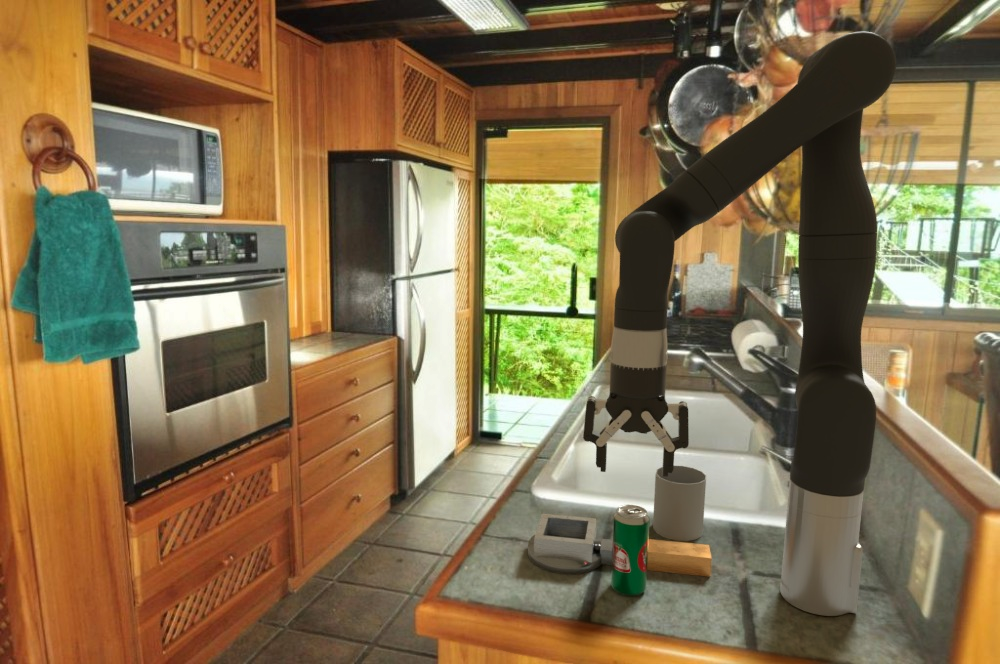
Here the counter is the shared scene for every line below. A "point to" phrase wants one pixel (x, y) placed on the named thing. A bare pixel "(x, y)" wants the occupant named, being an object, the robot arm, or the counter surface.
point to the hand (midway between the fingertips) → (633, 472)
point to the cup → (679, 503)
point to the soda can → (630, 550)
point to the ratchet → (605, 549)
